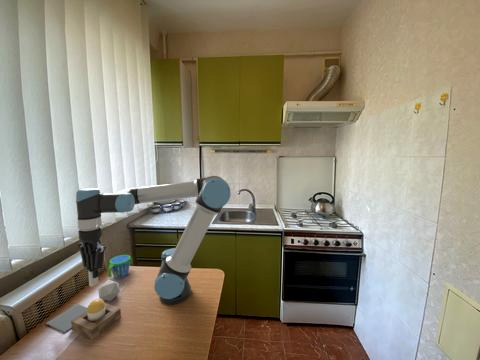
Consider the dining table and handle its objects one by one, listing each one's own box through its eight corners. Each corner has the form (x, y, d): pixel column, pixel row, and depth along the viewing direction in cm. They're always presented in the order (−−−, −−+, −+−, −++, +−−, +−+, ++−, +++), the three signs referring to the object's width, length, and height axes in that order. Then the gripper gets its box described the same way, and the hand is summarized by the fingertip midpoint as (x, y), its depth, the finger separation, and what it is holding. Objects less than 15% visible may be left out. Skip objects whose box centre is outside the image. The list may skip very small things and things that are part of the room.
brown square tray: (120, 317, 89) (120, 308, 89) (92, 339, 78) (91, 330, 78) (101, 309, 94) (100, 301, 93) (71, 330, 82) (71, 320, 82)
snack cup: (115, 285, 111) (114, 267, 110) (101, 280, 115) (100, 263, 114) (138, 270, 126) (138, 254, 125) (126, 267, 130) (125, 251, 129)
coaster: (95, 312, 92) (95, 310, 92) (64, 333, 81) (64, 331, 81) (77, 305, 96) (77, 303, 96) (46, 324, 85) (46, 323, 85)
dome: (109, 314, 87) (107, 297, 86) (94, 324, 82) (93, 307, 81) (99, 310, 89) (98, 294, 89) (84, 320, 84) (83, 303, 83)
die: (124, 296, 103) (122, 276, 107) (113, 299, 95) (110, 276, 99) (108, 303, 103) (105, 282, 107) (94, 306, 95) (93, 283, 99)
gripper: (111, 227, 83) (114, 283, 85) (89, 223, 87) (92, 276, 90) (91, 233, 76) (95, 294, 78) (69, 228, 80) (73, 286, 83)
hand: (93, 284), depth 84 cm, fingers closed
